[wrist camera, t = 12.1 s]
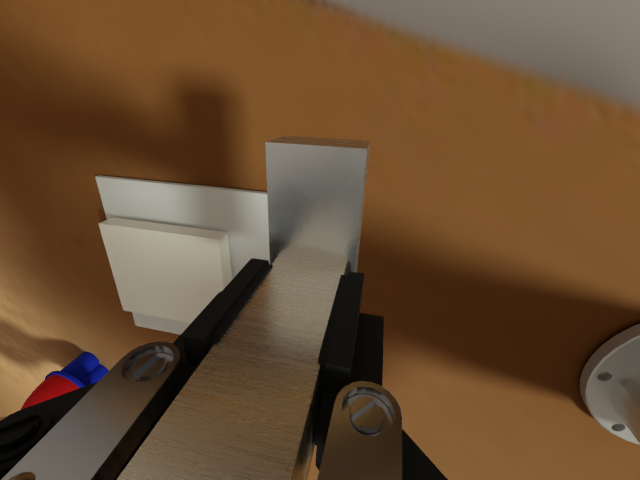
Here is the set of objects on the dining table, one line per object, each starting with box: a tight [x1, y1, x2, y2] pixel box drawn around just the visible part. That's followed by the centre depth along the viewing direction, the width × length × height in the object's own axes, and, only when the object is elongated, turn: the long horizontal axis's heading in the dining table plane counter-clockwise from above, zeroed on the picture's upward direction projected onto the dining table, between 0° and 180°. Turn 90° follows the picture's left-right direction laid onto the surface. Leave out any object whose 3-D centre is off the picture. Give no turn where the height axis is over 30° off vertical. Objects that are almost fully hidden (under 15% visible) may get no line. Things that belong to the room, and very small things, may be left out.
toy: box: [0, 352, 108, 421], centre depth 31 cm, size 8×8×15 cm
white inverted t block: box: [117, 136, 370, 480], centre depth 8 cm, size 3×10×10 cm, turn 178°
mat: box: [95, 175, 270, 335], centre depth 28 cm, size 16×16×1 cm
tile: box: [98, 217, 232, 323], centre depth 27 cm, size 2×9×11 cm
